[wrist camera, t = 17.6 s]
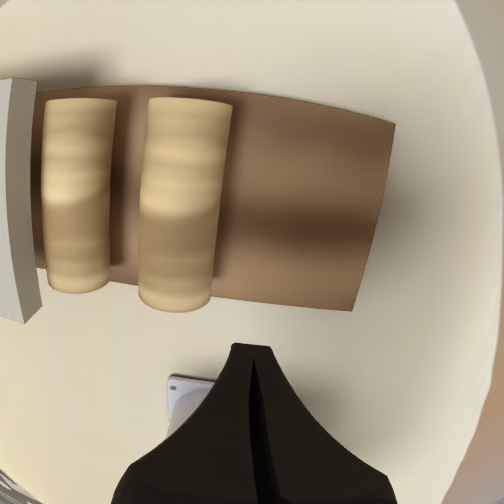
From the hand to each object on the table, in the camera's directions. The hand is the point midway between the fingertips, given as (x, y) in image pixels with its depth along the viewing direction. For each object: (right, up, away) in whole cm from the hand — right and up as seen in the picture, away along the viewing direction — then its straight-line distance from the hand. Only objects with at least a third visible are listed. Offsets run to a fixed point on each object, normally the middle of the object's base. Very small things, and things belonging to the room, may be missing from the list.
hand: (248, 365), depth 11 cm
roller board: (-9, +8, +7) cm, 14 cm away
